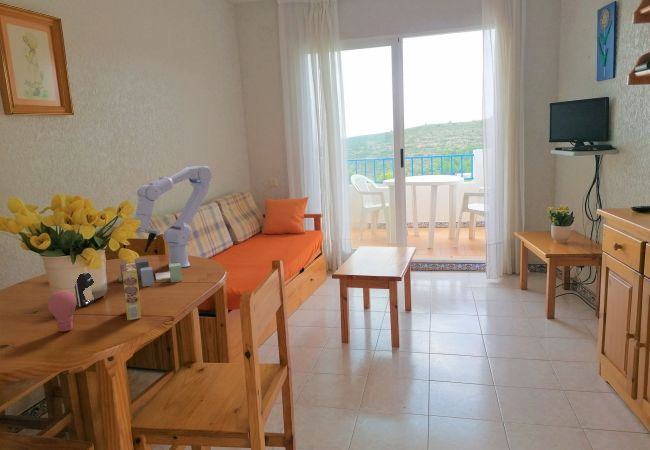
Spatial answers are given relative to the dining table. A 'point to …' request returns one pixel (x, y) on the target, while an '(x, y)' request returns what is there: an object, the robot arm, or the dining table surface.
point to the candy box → (131, 291)
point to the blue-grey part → (147, 276)
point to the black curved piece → (83, 288)
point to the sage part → (175, 272)
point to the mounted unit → (139, 264)
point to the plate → (162, 275)
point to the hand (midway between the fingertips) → (134, 250)
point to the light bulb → (62, 308)
